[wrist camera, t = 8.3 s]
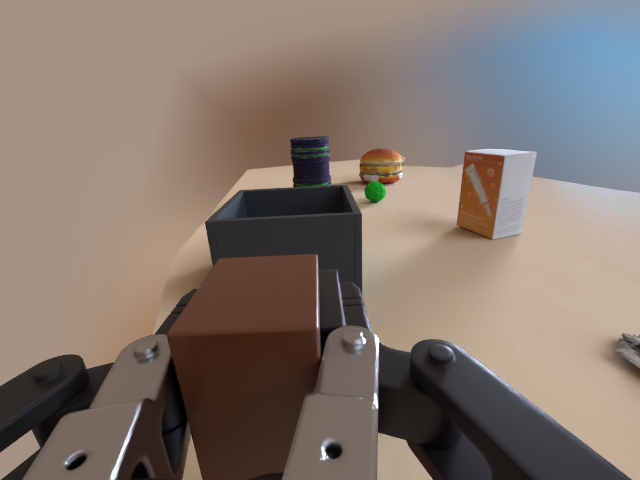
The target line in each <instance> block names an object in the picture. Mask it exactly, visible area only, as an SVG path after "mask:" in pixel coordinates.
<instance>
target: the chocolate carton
mask: <svg viewBox="0 0 640 480" xmlns="http://www.w3.org/2000/svg"><path fill="white" fill-rule="evenodd" d="M167 340H168V344H169V347H170V351H171V355H172V359H173V363H174V367H175V371H176V375H177V379H178V383H179V387H180V391H181V395H182V399H183V403H184V407H185V411H186V415H187V419H188V423H189V427H190V431H191V435H192V439H193V443H194V447H195V451H196V455H197V459H198V463H199V467H200V471H201V475H202V479H203V480H248V479H251V478H254V477H257V476H261V475H264V474H267V473H282V472H284V470H285V467H286V463H287V460H288V456H289V453H290V449H291V445H292V442H293V438H294V435H295V431H296V427H297V424H298V420H299V417H300V413H301V409H302V406H303V402H304V399H305V396H306V393H307V392H308V391H314V388H315V384H316V380H317V376H318V372H319V368H320V364H321V360H322V358H321V338H320V306H319V271H318V256H317V254H306V255H283V256H261V257H238V258H220V259H219V260H218V261H217V263H216V264H215V265H214V267H213V268H212V270H211V271H210V273H209V274H208V276H207V277H206V278H205V280H204V281H203V283H202V284H201V286H200V287H199V289H198V290H197V291H196V293H195V294H194V296H193V297H192V299H191V300H190V301H189V303H188V304H187V306H186V307H185V309H184V310H183V312H182V313H181V314H180V316H179V317H178V319H177V320H176V322H175V323H174V325H173V326H172V327H171V329H170V330H169V332H168V334H167Z"/></svg>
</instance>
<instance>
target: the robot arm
mask: <svg viewBox="0 0 640 480" xmlns="http://www.w3.org/2000/svg"><path fill="white" fill-rule="evenodd" d="M318 271H319V306H320V338H321V358H322V360H321V364H320V368H319V372H318V376H317V380H316V384H315V388H314V391H308V392H307V393H306V396H305V399H304V402H303V406H302V409H301V413H300V417H299V420H298V424H297V427H296V431H295V435H294V438H293V442H292V445H291V449H290V453H289V456H288V460H287V463H286V467H285V470H284V472H282V473H267V474H264V475H261V476H257V477H254V478H251V479H248V480H377V444H378V433H382V434H386V435H389V436H393V437H397V438H400V439H404V440H406V441H407V443H408V446H409V447H410V449H411V450H412V452H413V453H414V454H415V456H416V457H417V458H418V460H419V461H420V462H421V464H422V465H423V467H424V468H425V469H426V471H427V472H428V473H429V475H430V476H431V477H432V479H433V480H632V479H630V478H629V477H628V476H626V475H625V474H624V473H623V472H621V471H620V470H619V469H617V468H616V467H615V466H613V465H612V464H611V463H610V462H608V461H607V460H606V459H604V458H603V457H602V456H600V455H599V454H598V453H597V452H595V451H594V450H593V449H591V448H590V447H589V446H587V445H586V444H585V443H584V442H582V441H581V440H580V439H578V438H577V437H576V436H574V435H573V434H572V433H571V432H569V431H568V430H567V429H565V428H564V427H563V426H561V425H560V424H559V423H557V422H556V421H555V420H554V419H552V418H551V417H550V416H548V415H547V414H546V413H544V412H543V411H542V410H541V409H539V408H538V407H537V406H535V405H534V404H533V403H531V402H530V401H529V400H528V399H526V398H525V397H524V396H522V395H521V394H520V393H518V392H517V391H516V390H515V389H513V388H512V387H511V386H509V385H508V384H507V383H505V382H504V381H503V380H502V379H500V378H499V377H498V376H496V375H495V374H494V373H492V372H491V371H490V370H489V369H487V368H486V367H485V366H483V365H482V364H481V363H479V362H478V361H477V360H476V359H474V358H473V357H472V356H470V355H469V354H468V353H466V352H465V351H464V350H463V349H461V348H460V347H458V346H456V345H454V344H452V343H450V342H447V341H443V340H436V339H429V340H423V341H420V342H418V343H417V344H415V345H414V346H413V348H412V350H411V353H410V352H405V351H399V350H395V349H391V348H388V347H386V346H384V345H382V344H381V343H379V340H378V338H377V336H376V335H375V334H374V333H373V332H372V331H371V329H370V325H369V321H368V317H367V314H366V310H365V306H364V302H363V299H362V295H361V291H360V288H358V287H357V286H356V285H355V284H354V283H353V282H341V283H339V278H338V271H337V270H318ZM197 290H198V289H193V290H192V291H190V292H189V293H188V294H186V295H185V296H183V297H182V298H181V300H180V301H179V302H178V304H177V305H176V307H175V308H174V309H173V311H172V312H171V314H170V315H169V316H168V317H167V319H166V320H165V321H164V323H163V324H162V325H161V327H160V328H159V329H158V331H157V332H156V333H155V335H150V336H147V337H143V338H141V339H139V340H136V341H134V342H132V343H131V344H129V345H128V346H126V347H125V348H124V349H123V350H122V351H121V352H120V354H119V355H118V357H117V359H116V360H115V362H113V363H109V364H105V365H102V366H97V367H93V368H90V369H86V367H85V364H84V361H83V359H82V358H81V357H80V356H78V355H62V356H58V357H54V358H51V359H48V360H46V361H43V362H41V363H39V364H37V365H36V366H34V367H32V368H30V369H28V370H27V371H25V372H24V373H22V374H20V375H18V376H17V377H15V378H13V379H12V380H10V381H8V382H7V383H5V384H3V385H2V386H0V452H1V451H3V450H4V449H5V448H7V447H8V446H10V445H11V444H12V443H14V442H15V441H16V440H18V439H19V438H20V437H22V436H23V435H24V434H26V433H27V432H28V431H30V430H31V429H32V431H33V433H34V436H35V438H36V440H37V442H38V444H39V446H40V449H39V450H38V451H37V452H35V453H34V454H33V455H32V456H30V457H29V458H28V459H27V460H25V461H24V462H23V463H22V464H20V465H19V466H18V467H17V468H15V469H14V470H13V471H12V472H10V473H9V474H8V475H7V476H5V477H4V478H3V479H2V480H182V479H183V473H184V468H185V462H186V457H187V451H188V446H189V441H190V435H191V431H190V427H189V423H188V419H187V415H186V411H185V407H184V403H183V399H182V395H181V391H180V387H179V383H178V379H177V375H176V371H175V367H174V363H173V359H172V355H171V351H170V347H169V344H168V340H167V334H168V332H169V330H170V329H171V327H172V326H173V325H174V323H175V322H176V320H177V319H178V317H179V316H180V314H181V313H182V312H183V310H184V309H185V307H186V306H187V304H188V303H189V301H190V300H191V299H192V297H193V296H194V294H195V293H196V291H197Z"/></svg>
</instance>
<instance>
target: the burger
mask: <svg viewBox="0 0 640 480" xmlns="http://www.w3.org/2000/svg"><path fill="white" fill-rule="evenodd" d="M401 161H402V158H401V156H400V155H399V154H398V153H397V152H395V151H393V150H390V149H374V150H371V151H369V152H367V153H366V154H364V155H363V156H362V158H361V160H360V162H361V164H360V173H359V176H360V177H361V179H362V180H363V181H364V182H368V183H371V182H372V181H378V182H380V183H391V182H395V181H398V180H399V179H400V178H402V173H403V172H401V167H402V163H401Z"/></svg>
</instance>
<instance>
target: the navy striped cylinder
mask: <svg viewBox="0 0 640 480" xmlns="http://www.w3.org/2000/svg"><path fill="white" fill-rule="evenodd" d="M290 142H291V149H292V150H291V155H292V156H291V159H292V162H293V170H294V177H293V183H294V184H293V187H313V186H331V182H330V181H331V176H330V175H329V160H330V154H329V152H330V148H328V147H329V137H305V138H293V139H290Z"/></svg>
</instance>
